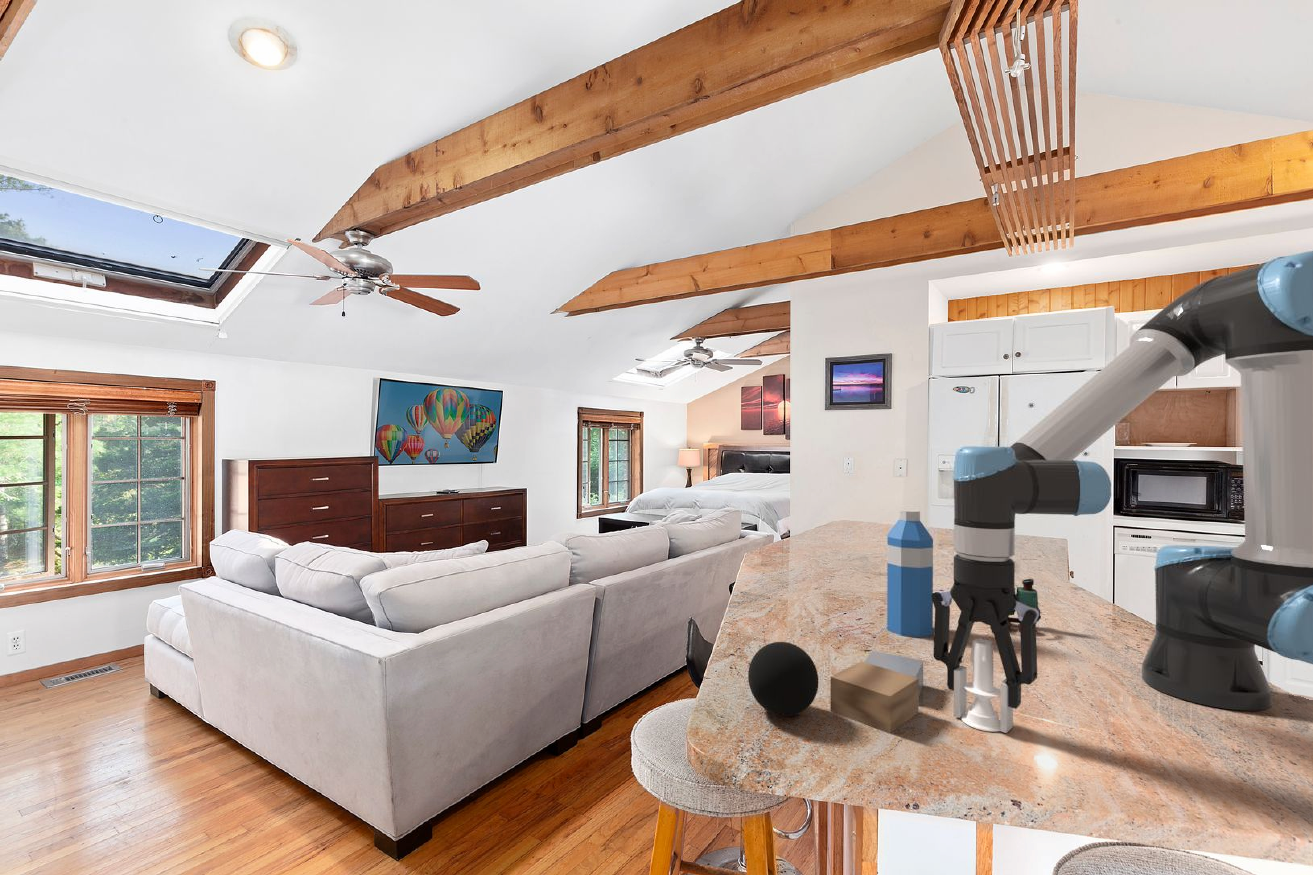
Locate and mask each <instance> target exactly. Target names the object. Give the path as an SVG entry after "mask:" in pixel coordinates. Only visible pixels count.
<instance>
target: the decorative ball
mask: <svg viewBox="0 0 1313 875" xmlns="http://www.w3.org/2000/svg"><path fill="white" fill-rule="evenodd" d="M747 677H748V678H747V680H748V684H749V689H750V692H751V694H752V696H753V698H754V699H755V701H756V702H757V703H758V704H759V705H760V706H761V707H762V708H763V709H764V710H766V711H768V712H770V714H773V715H776V716H782V717H793V716H795V715H798V714H800V713H801V714H802V712H804V711H806V710H807V709H808V708H809V707H810V706H811V705H812V703H813V702H814V701H815V699H816V696H817V694H818V690H819V674H818V670H817V667H816V664H815V662H814V661H813V659H812V658H811V656H810V655H809V654H808V653H807V652H806V651H805V650H804V649H803V648H801V647H800V646H797V644H793V643H790V642H787V641H774V642H771V643H768V644H766V645H764V646H763V647H761V648H760V649H758V650H757V652H756V653H755V654H754V656H753V657H752V659H751V661H750V663H749V666H748V672H747Z"/></svg>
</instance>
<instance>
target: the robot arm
mask: <svg viewBox="0 0 1313 875" xmlns="http://www.w3.org/2000/svg"><path fill="white" fill-rule="evenodd" d="M1223 355H1224V359H1225V363H1226V364H1227V365H1228V366H1230V367H1232V368H1233V369H1235V370H1236V371H1237V372H1238V373H1239V374H1240V398H1241V399H1240V401H1241V404H1240V405H1241V435H1242V436H1241V437H1242V438H1241V439H1242V467H1243V468H1242V470H1243V473H1242V476H1243V505H1244V506H1243V507H1244V508H1243V509H1244V541H1243V542H1242V544H1240V545H1238V546H1214V545H1213V546H1212V545H1211V546H1210V545H1209V546H1208V545H1165V546H1161V547H1160V548H1159V549H1158V550H1157V552H1156V559H1155V565H1154V572H1155V574H1154V575H1155V576H1154V577H1155V578H1154V580H1155V583H1154V584H1155V635H1154V637H1153V639H1152V641H1151V644H1150V646H1149V648H1148V651H1147V653H1146V655H1145V657H1144V659H1143V661H1142V665H1141V678H1142V680H1143V681H1144V683H1146V684H1147V685H1149V686H1150V687H1152V688H1154V689H1155V690H1157V691H1160V692H1162V693H1163V694H1167V695H1170V696H1172V697H1175V698H1178V699H1181V700H1185V701H1188V702H1190V703H1191V702H1192V703H1196V704H1201V705H1204V706H1209V707H1213V708H1214V707H1215V708H1218V709H1219V708H1221V709H1227V710H1234V711H1246V712H1247V711H1248V712H1249V711H1250V712H1251V711H1254V712H1255V711H1263V710H1267V709H1269V708H1270V707H1271V706H1272V690H1271V687H1270V685H1269V683H1268V679H1267V677H1266V675H1265V673H1264V670H1263V668H1262V665H1261V663H1260V660H1259V657H1258V655H1257V654H1256V650H1255V649H1256V648H1255V647H1256V646H1258V647H1259V648H1260V647H1261V648H1262V649H1265V650H1268V651H1271V652H1273V653H1275V654H1276V653H1277V654H1278V655H1279V656H1281V657H1284V658H1287V659H1291V660H1295V661H1301V662H1304V663H1306V664H1310V665H1313V250H1309V251H1304V252H1299V253H1295V254H1292V255H1291V254H1290V255H1287V256H1285V255H1284V256H1278V257H1276V258H1273V259H1271V260H1269V261H1266V262H1263V263H1260V264H1256V265H1254V266H1251V267H1247V268H1244V269H1241V270H1237V271H1234V272H1231V273H1228V274H1225V275H1219V276H1216V277H1213V278H1209V279H1208V280H1205V281H1203V282H1201V283H1199V284H1197V285H1195V286H1193V287H1192V288H1190V289H1189V290H1188V291H1185V292H1184V293H1182V294H1181V295H1179V296H1178V297H1177V298H1176V299H1175V300H1173V301H1172V302H1170V303H1169V304H1168V305H1166V306H1165V307H1164V308H1163V309H1162V310H1161V311H1159V312H1158V313H1157V314H1155V315H1154V316H1153V317H1152V318H1151V319H1149V320H1148V321H1146V323H1145V324H1144V325H1142V326H1141V327H1140V328H1139V329H1138V330H1136V331H1135V332H1134V333H1133V334H1131V336H1130V340H1129V346H1128V347H1127V348H1125V350H1123V351H1122V352H1121V353H1119V354H1118V355H1117V356H1116V357H1115V358H1114V359H1113V360H1112V361H1110V362H1109V363H1108V364H1107V365H1105V366H1104V367H1103V368H1102V369H1101V370H1099V371H1098V372H1097V373H1096V374H1095V375H1094V376H1092V377H1091V378H1090V379H1089V380H1087V381H1086V382H1085V383H1084V384H1083V385H1082V386H1080V387H1079V388H1078V389H1077V390H1076V391H1075V392H1073V393H1072V394H1071V395H1070V396H1068V398H1067V399H1065V400H1064V401H1063V402H1061V403H1060V404H1059V405H1058V406H1057V407H1056V408H1055V409H1053V410H1052V411H1050V412H1049V414H1048V415H1046V416H1045V417H1044V418H1042V419H1041V420H1040V421H1039V422H1038V423H1037V424H1036V425H1034V426H1033V427H1032V428H1031V429H1030V430H1028V432H1026V433H1025V434H1024V435H1023V436H1022V437H1020V438H1019V439H1018V440H1016V442H1014V443H1013V444H1012V445H1010V446H977V445H976V446H973V445H971V446H970V445H969V446H962V447H960V448H958V449H957V450H956V452H955V455H954V457H955V458H954V463H953V464H954V466H953V475H952V480H953V497H954V498H953V500H954V501H953V504H954V505H953V508H954V510H953V512H954V517H953V518H954V520H953V550H954V552H955V553H956V554H955V555H954V556H953V585H952V587H951V588H950V590H943V589H940V590H937V591H934V592H933V594H932V595H931V597H932V601H933V608H934V626H933V632H934V633H933V658H934V660H936V661H937V662H938V661H940V662H941V663H943V664H944V665H945V666H946V669H947V674H946V675H947V676H946V678H947V679H946V680H947V682H946V685H947V688H948V689H949V690H952V691H953V717H957V718H961V717H962V715H964V714H966V713H967V697H968V696H967V693H968V692H967V690H966V689H965V688H964V685H965V684H966V683H968V679H967V676H968V673H967V671H968V670H967V666H963V665H961V664H962V663H963V662H964V661H963V658H964V655H965V654H964V653H965V651H966V648H967V645H968V642H969V639H970V635H971V634H972V633H971V632H972V630H973V626H974V624H975V623H983V624H985V625H987V626H989V627H990V631H991V633H992V634H993V636H994V640H995V643H996V646H997V651H998V655H999V657H1000V661H1001V665H1002V668H1003V672H1004V676H1005V679H1004V680H1003V681H1001V682H1000V690H1001V691H1000V696H999V697H1000V702H999V703H1000V706H999V707H1000V708H999V709H1000V715H999V717H1000V718H999V720H1000V731H999V732H1001V733H1005V734H1007V733H1008V732H1009V731H1010V730H1011V729H1012V728H1013V727H1014V709H1018V707H1020V705H1021V704H1022V685H1025V684H1026V685H1032V683H1034V681H1036V680H1037V679H1038V652H1037V651H1038V650H1037V649H1038V648H1037V647H1038V645H1037V632H1036V630H1037V623H1038V622H1039V621H1038V618H1039V616H1041V610H1040V608H1039V607H1038V608H1039V609H1038V608H1037V607H1032V608H1031V607H1028V606H1026V605H1024V604H1022V603H1020V602H1019V601H1018V598H1017V596H1016V594H1017V593H1016V590H1015V591H1014V587H1015V578H1016V577H1015V567H1016V566H1015V565H1016V563H1015V561H1014V560H1013V559H1012V557H1014V556H1015V539H1016V538H1015V534H1016V533H1015V532H1016V528H1015V527H1016V523H1015V522H1016V514H1017V515H1027V514H1029V515H1031V514H1032V515H1063V516H1064V515H1066V516H1068V515H1069V516H1070V515H1072V516H1075V517H1078V516H1081V515H1083V516H1084V515H1095V514H1099V513H1101V512H1102V511H1104V510H1105V509H1106V508H1107V506H1108V505H1109V504H1110V501H1111V498H1112V497H1111V496H1112V482H1111V477H1110V476H1109V474H1108V471H1107V470H1106V469H1105V468H1104V467H1103V466H1102V465H1100V464H1099V463H1097V462H1094V461H1084V460H1083V461H1082V460H1078V459H1075V458H1077V457H1078V456H1079V455H1080V454H1082V453H1084V451H1085V450H1087V449H1089V447H1090V446H1091V445H1092V444H1094V443H1095V442H1096V441H1098V440H1099V439H1100V438H1101V437H1102V436H1104V435H1105V434H1106V433H1107V432H1108V431H1109V430H1111V429H1112V428H1113V427H1114V426H1115V425H1117V424H1118V423H1119V422H1121V420H1123V419H1124V418H1125V417H1126V416H1127V415H1129V414H1130V413H1131V412H1132V411H1134V410H1135V409H1136V408H1137V407H1139V406H1140V405H1141V404H1142V403H1143V402H1145V401H1146V400H1147V399H1148V398H1149V397H1150V396H1152V395H1153V394H1154V393H1155V392H1157V391H1158V390H1159V389H1160V388H1162V386H1164V385H1165V384H1166V383H1167V382H1168V381H1170V380H1171V379H1172V378H1174V377H1184V376H1186V375H1188V374H1190V373H1191V372H1192V371H1193V370H1194V369H1196V368H1197V367H1198V366H1200V365H1201V364H1204V363H1205V362H1207V361H1209V360H1211V359H1215V358H1217V357H1221V356H1223ZM952 601H953V602H954V603H955V604H956V606H957V607H958V609H959V610H960V615H959V617H958V621H957V628H956V630H955V634H954V636H953V639H952V643H951V646H950V648H949V645H950V623H951V622H950V620H951V619H950V617H951V607H950V605H952V603H953V602H952ZM1014 610H1016V611H1017V612H1016V611H1015V612H1016V614H1017V613H1018V615H1017V618H1018V619H1019V620H1020V621H1021V627H1020V632H1019V633H1020V634H1019V635H1020V636H1019V637H1020V659H1021V660H1020V664H1021V665H1020V664H1019V661H1018V658H1017V653H1016V650H1015V646H1014V643H1013V639H1012V636H1011V633H1010V630H1009V624H1008V620H1007V617H1008V616H1009V617H1010V616H1011V615H1010V614H1011V613H1012V612H1013V611H1014ZM949 649H950V650H949ZM1020 666H1021V667H1020Z"/></svg>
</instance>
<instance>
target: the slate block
mask: <svg viewBox="0 0 1313 875" xmlns="http://www.w3.org/2000/svg"><path fill="white" fill-rule="evenodd" d="M863 662H865V663H869V664H872V665H875V666H879V667H882V668H885V669H889V670H892V671H896V672H899V673H902V674H906V675H909V676H912V677H916V678H919V695H920V693H921V692H922V689H923V687H924V659H917V658H912V657H906V656H901V655H897V654H891V653H886V652H882V651H881V652H879V651H874V650H871V652H870V653H869V654H868V656H867V657H866V658H865V660H864V661H863Z"/></svg>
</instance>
